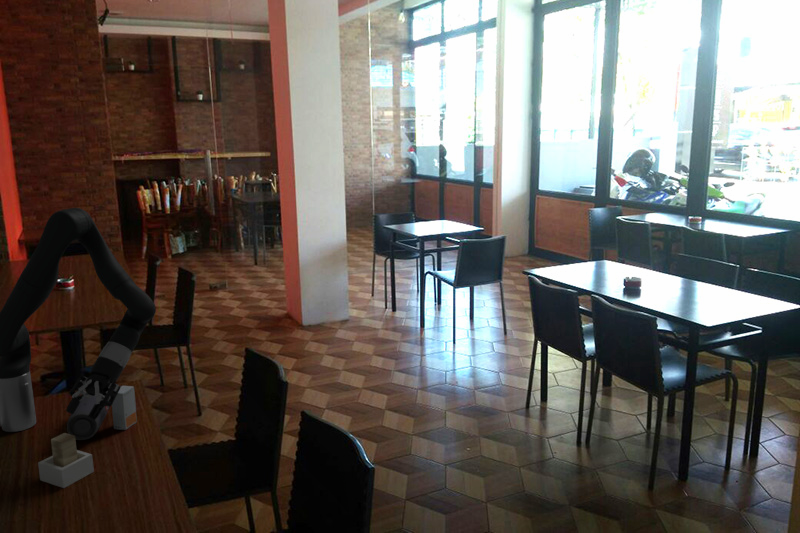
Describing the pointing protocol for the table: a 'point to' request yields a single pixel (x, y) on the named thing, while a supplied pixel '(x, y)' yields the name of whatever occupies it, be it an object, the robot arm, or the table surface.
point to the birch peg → (64, 449)
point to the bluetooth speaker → (85, 419)
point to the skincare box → (124, 408)
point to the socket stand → (66, 470)
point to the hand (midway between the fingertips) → (80, 415)
